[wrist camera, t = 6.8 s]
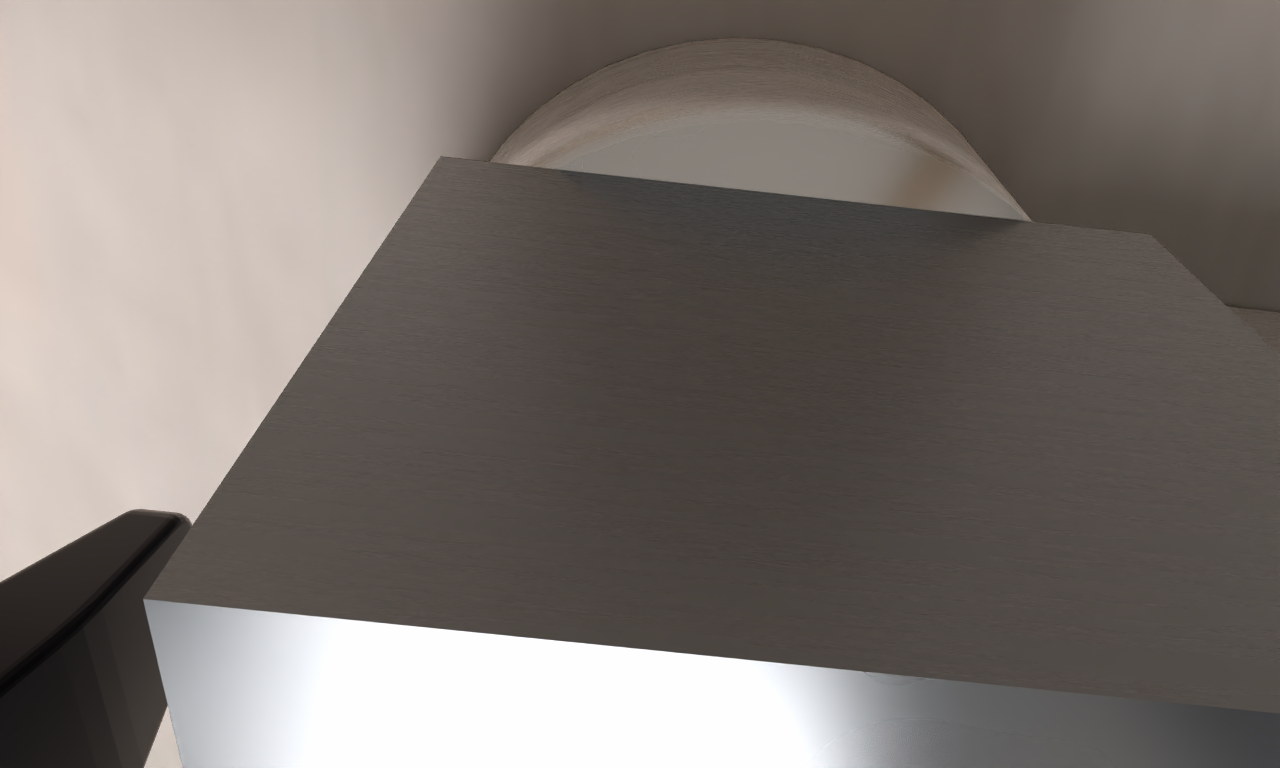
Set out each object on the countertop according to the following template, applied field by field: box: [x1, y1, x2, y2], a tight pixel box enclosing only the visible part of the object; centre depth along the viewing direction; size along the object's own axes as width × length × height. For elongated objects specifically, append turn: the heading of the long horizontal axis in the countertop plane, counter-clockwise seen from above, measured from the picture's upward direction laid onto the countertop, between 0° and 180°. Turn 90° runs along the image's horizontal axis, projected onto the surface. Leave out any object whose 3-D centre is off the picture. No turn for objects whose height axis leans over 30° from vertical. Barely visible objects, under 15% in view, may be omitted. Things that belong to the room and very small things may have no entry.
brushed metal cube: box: [143, 156, 1280, 768], centre depth 7 cm, size 6×6×5 cm
